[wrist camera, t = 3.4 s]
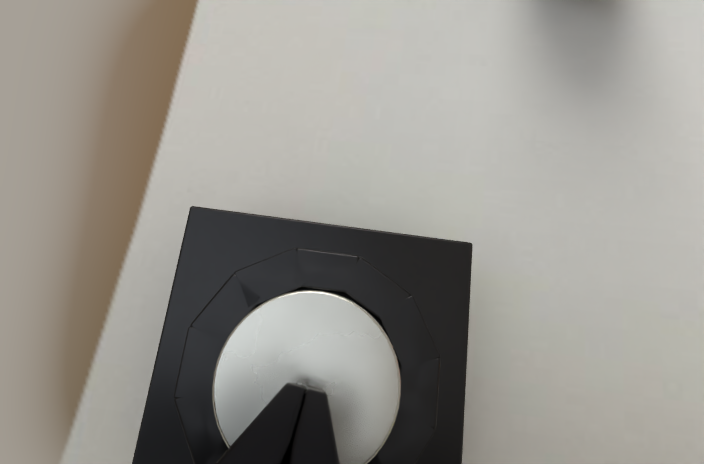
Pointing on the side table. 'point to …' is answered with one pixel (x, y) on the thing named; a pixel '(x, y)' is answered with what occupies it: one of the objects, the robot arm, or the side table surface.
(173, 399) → the hob block
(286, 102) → the side table surface
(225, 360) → the hob knob
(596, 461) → the side table surface
